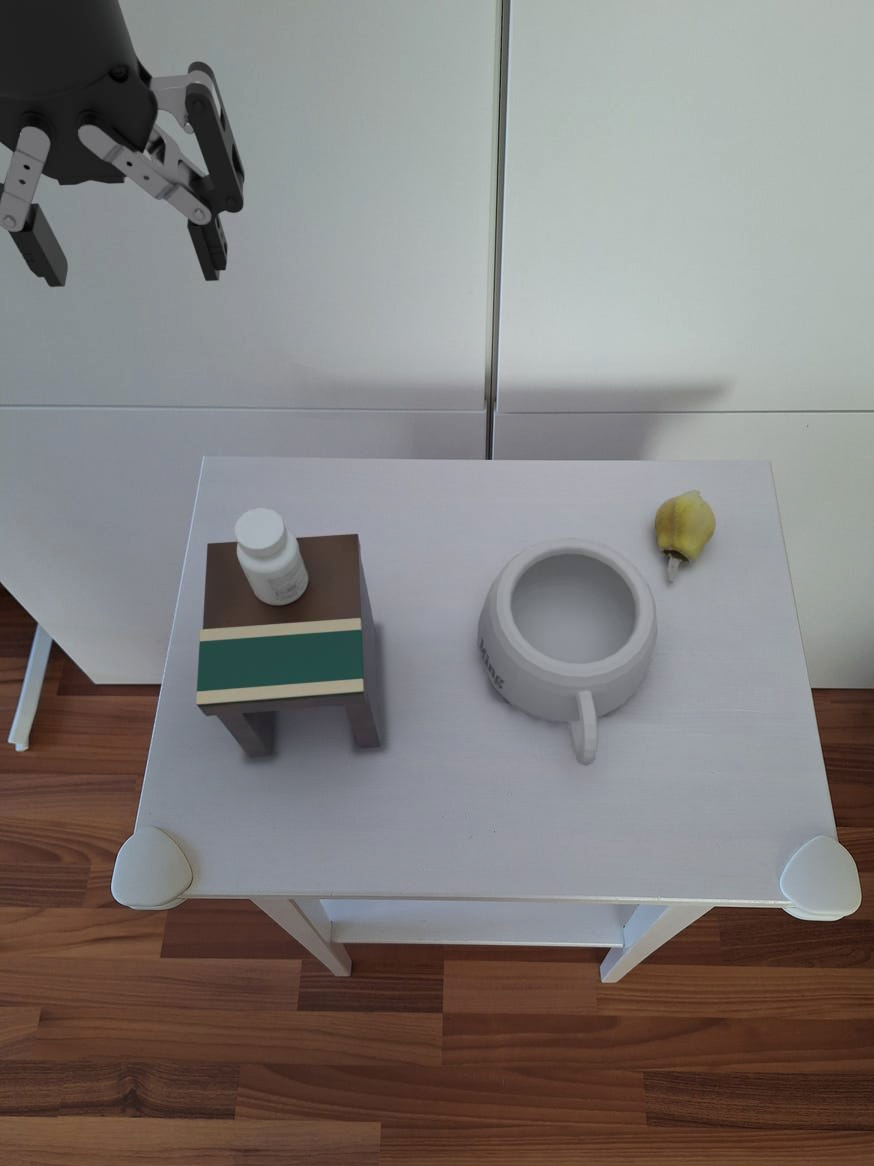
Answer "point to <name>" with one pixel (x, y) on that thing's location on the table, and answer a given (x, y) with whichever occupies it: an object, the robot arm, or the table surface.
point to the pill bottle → (270, 557)
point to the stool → (326, 597)
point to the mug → (568, 634)
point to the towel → (280, 662)
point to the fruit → (683, 528)
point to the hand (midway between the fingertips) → (138, 273)
